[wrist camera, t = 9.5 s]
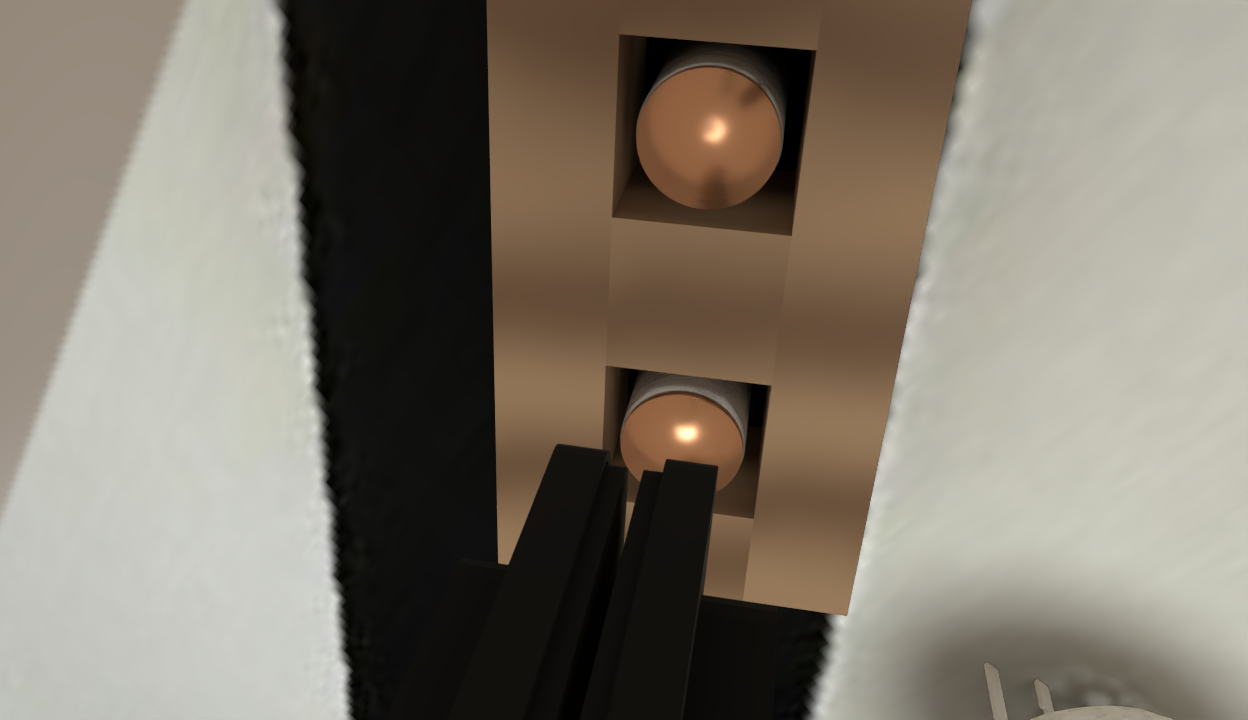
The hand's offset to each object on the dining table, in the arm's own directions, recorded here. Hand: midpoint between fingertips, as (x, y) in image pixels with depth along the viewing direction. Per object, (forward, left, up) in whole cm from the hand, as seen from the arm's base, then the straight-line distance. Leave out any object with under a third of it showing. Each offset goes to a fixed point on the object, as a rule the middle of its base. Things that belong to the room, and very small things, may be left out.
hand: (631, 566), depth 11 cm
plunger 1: (0, -1, -21) cm, 21 cm away
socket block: (+5, -1, -21) cm, 22 cm away
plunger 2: (+9, -1, -21) cm, 23 cm away
